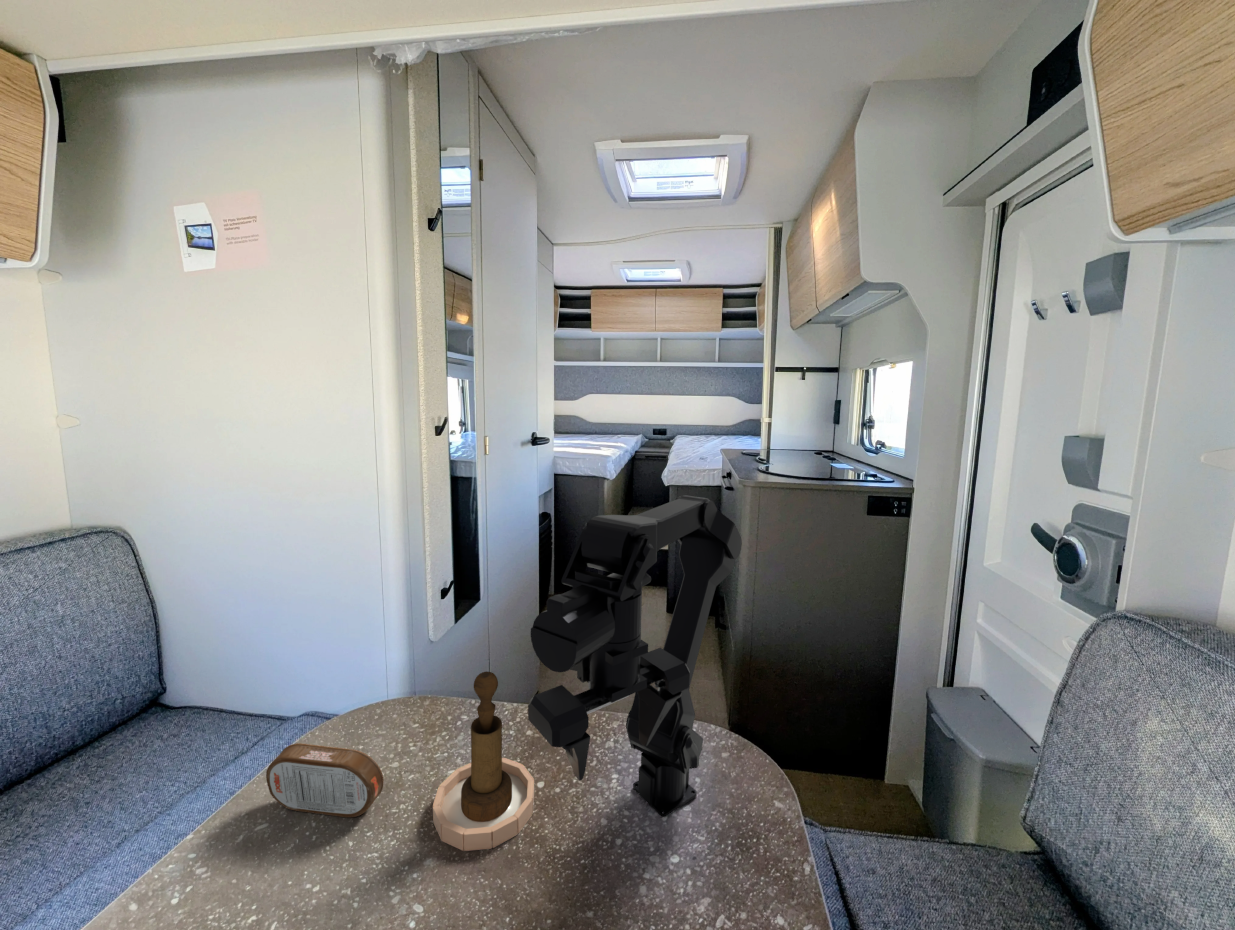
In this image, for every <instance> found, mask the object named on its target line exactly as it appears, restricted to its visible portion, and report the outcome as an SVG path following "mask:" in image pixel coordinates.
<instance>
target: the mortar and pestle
mask: <svg viewBox="0 0 1235 930" xmlns="http://www.w3.org/2000/svg"><path fill="white" fill-rule="evenodd" d="M498 687H499V681H498V677H497V675H496V674H495V673H493V672H492V671H483V672H481V673H479V674H478V675H476V677H475V679H474V682H473V690H474V692H475V694H476V695H477V697H478V698H479V701H480V703H479V705H478V706H477V707H476V711H477V716H478V717H476V718H475V719H474V720H473V721H472V722H471V724H470V741H471V742H470V746H471V747H470V752H471V753H470V756H471V757H470V758H471V759H470V760H471V761H470V763H471V776H469V777H468V778H467V779H466V781H465V782H464V784H463V786H462V790H461V809H462V812H463V814H464V815H465V816H466V817H467V818H468V819H470V820H472V821H477V822H486V821H490V820H493V819H495V818H497V817H499V816H500V815H502V814H503V813H504V812H505V811H506V810H507V809H508V807H509V806H510V803H511V800H512V781H511V778H510V776H509V775H508V774H507V773H506V772H505V771H503V770H502V757H503V721H502V719H501V718H500V717H499V716H496V715H495V713H496V704H495V703H494V702H492V700H493V697H494V696H495V694H496V692H497V690H498Z"/></svg>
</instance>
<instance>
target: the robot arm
mask: <svg viewBox="0 0 1235 930" xmlns="http://www.w3.org/2000/svg"><path fill="white" fill-rule="evenodd" d="M676 541H678V543H679V544H680V547H679V550H678V551H679V552H678V558H679V560H680V564H681V568H682V571H683V578H682V582H681V585H680V589H679V593H678V595H677V598H676V603H675V606H674V610H673V613H672V617H671V620H670V622H669V623H670V624H669V628H668V631H667V634H666V637H665V642H664V645H663V648H661V647H658V648H655V649H652V650H650V651H649V643H647V642H646V641H644V640H643V639H641V637H642V608H643V607H642V606H643V605H642V603H643V602H642V601H643V587H645V586H646V585H648V584H650V583H651V581H652V577H651V576H650V575H649V574H648V573H647V571H649V569H650V568H652V567H653V566H654V565H655V564H656V563H657V560H658V558H657V557H658V554H657V553H658V551H660V550H661V549H663V548H665V547H667V546H668V545H670V544H673V543H674V542H676ZM742 545H743V542H742V536H741V534H740V532H739V531H738V528H737V525H736V524H735V522H734V521H732V519H730V518H728V516H726V515H725V514H723V512H721V511H720V510H718V508H717V505H716V504H715V501H713V500H710V499H709V498H708V497H707V498H706V497H699V496H691V495H685V494H683V495H681V496H677V497H676V498H675V499H674V500H672V501H669V502H667V503H664V504H662V505H658V506H656V507H654V508H651V509H648V510H645V511H642V512H641V513H640V512H639V514H634V515H627V514H626V515H625V514H624V515H623V514H607V515H606V514H603V515H595V516H594V517H591V518H590V519H589V520H588V521H587V522H586V523H585V527H583V529H582V531H581V533H580V535H579V537H578V539H577V543H576V544H575V547H574V550H573V551H572V554H571V555H570V558H569V561H568V563H567V566H566V567H565V570H564V573H563V575H562V577H561V580H560V581H561V584H563V585H566V586H569V587H572V588H571V589H570V590H568V591H566V592H564V593H561V594H555V595H553V596H551V597H548V598H547V600H546V610H544V611H542V612H540V613H539V614H538V615H537V616H536V618H535V619H534V621H533V625H532V627H531V628H530V640H531V644H532V648H533V651H534V653H535V655H536V657H537V658H538V660H539V662H541V663H542V665H544V667H546V668H547V669H549V670H550V671H552V672H556V673H564V672H568V671H572V672H573V671H574V672H576V677H577V678H576V679H578V680H579V681H580V682H581V683H582V684H583V683H585V682H586V683H588V689H587V690H585V691H583V692H580V693H578V694H575V695H574V694H572V692H570V691H569V690H568V689H567V688H566V687H565V686H564V685H563V684H560V685H557V686H555V687H552V688H549V689H548V690H545V691H541V692H539V693H537V694H534V695H533V696H532V697H531V698H530V699H529V702H528V704H527V713H528V715H527V717H528V718H527V720H528V721H529V722H530V723H531V724H532V726H533V727H534V728H535V729H536V730H537V731H538V732H539V734H540V735H541V736H542V737H543V738H544V739H545V740H546V742H547V743H548V744H549V745H550V746H551V747H552V748H553V747H554V748H561V749H564V751H565V753H566V756H567V759H568V761H569V764H570V766H571V769H572V772H573V775H574V776H575V778H576V779H577V780H578V781H580V782H581V781H582V780H584V777H585V773H586V768H587V761H588V756H589V755H588V754H589V749H590V748H589V747H590V742H591V735H590V734H589V733H588V732H587V730H588V729H589V725H590V724H589V722H590V721H589V719H590V717H589V714H591V713H594V712H596V711H599V710H600V709H604V708H606V707H608V706H610V705H612V704H614V703H616V702H619V701H622V700H623V699H626V698H628V697H630V696H631V695H633V694H634V697H633V701H632V706H631V707H630V711H629V712H628V715H627V717H626V721H625V727H626V728H625V729H626V733H627V737H628V741H629V744H630V748H631V749H633V750H637V751H639V752H641V754H640V765H639V767H638V780H637V781H635V782H634V783H632V788H633V790H634V791H635V792H636V793H637V794H638V795H639V796H640V797H641V798H642V800H644V802H646V803H647V805H648V806H650V808H652V809H653V810H654V811H655V812H656V813H657V814H658V815H659V816H660V817H661V818H666V817H667V816H668V815H670V814H672V813H673V812H676V810H678V809H679V808H681V807H682V806H684V805H686V804H687V803H689V802H690V801H692V800H693V799H695V798H697V794H698V792H697V790H696V789H695V788H694V787H693V786H691V785H690V784H689V782H690V770H692V769H697V768H698V767H699V766H700V756H701V754H702V751H703V743H704V738H703V737H702V736H701V735H700V734H698V732H696V731H695V730H694V729H693V727H694V722H695V718H696V712H695V711H696V710H695V707H694V705H693V699H692V696H691V692H690V687H691V683H692V679H693V676H694V673H695V668H696V664H697V660H698V657H699V652H700V649H701V645H702V641H703V637H704V634H705V630H706V627H707V621H708V618H709V615H710V611H711V607H712V603H713V600H714V596H715V591H716V589H717V587H718V585H719V584H721V583H722V582H723V581H724V580H725V579H726V578H727V577H728V576H729V575H730V574H731V573H732V571H733V569H734V566H735V562H736V560H738V558H739V557H740V555H741V552H742ZM587 567H588V568H594V569H597V570H600V571H602V572H603V571H605V572H608V573H610V574H608V575H605V574H600V573H596V572H594V571H590V570H586V568H587Z"/></svg>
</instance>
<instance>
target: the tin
mask: <svg viewBox="0 0 1235 930" xmlns="http://www.w3.org/2000/svg"><path fill="white" fill-rule="evenodd" d="M265 775H266V777H265V779H266V783H267V787H268V791H269V793H270V796H272V798H273V799H274V800H275V801H276V802H277V803H278V804H280V805H281V806H283V807H284V808H286V809H288V810H292V811H296V812H303V813H309V814H310V813H311V814H317V815H324V816H325V815H326V816H333V817H341V818H354V817H355V818H356V817H359V816H362V815H363V814H365V813H366V812H367V811H368V810H369V809H370V808H371V806H372V805H373V804H374V802H375V800H376V799H378V797H379V796H380V795H381V793H382V792H383V789H384V784H385V782H384V780H385V779H384V774H383V772H382V769H381V767H380V766H379V764H378V763H377V761H376V760H375V759H374V758H372V757H371V756H370V755H368V754H367V753H365V752H363V751H360V750H359V749H358V750H357V749H354V748H353V749H352V748H346V747H345V748H343V747H338V746H337V747H335V746H328V745H318V744H310V743H303V742H302V743H301V742H298V743H292V744H289V745H288V746H286V747H284V748H283V749H282V751H280V753H279V754H278V756H276V757H275V759H273V760H272V762H271V763H270V764H269V765H268V767H267V769H266V774H265Z"/></svg>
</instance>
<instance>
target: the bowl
mask: <svg viewBox="0 0 1235 930" xmlns="http://www.w3.org/2000/svg"><path fill="white" fill-rule="evenodd" d="M502 770H503V771H505V772H506V773H507V774H508V775H509V776H510V778H511V781H512V800H511V803H510V806H509V807H508V809H507V810H506V811H505V812H504V813H503V814H502V815H500V816H499V817H497V818H495V819H493V820H490V821H486V822H477V821H472V820H470V819H468V818H467V817H466V816H465V815H464V814H463V812H462V809H461V790H462V786H463V784H464V782H465V781H466V779H467V778H468V777H469V776H471V762H469V763H467V764H465V765H463V766H460V767H457V768H456V769H455V770H454V771H452V773H450V774H449V776H448V777H446V778H445V779H444V780H443V781H442V782H441V783H440V785H438V788H437V791H436V794H435V797H434V800H433V804H432V819H433V820H432V823H433V825H434V828H435V829H436V832H437V834H438V836H439V839H440V841H441V842H442V843H445V844H448V845H449V846H450V847H451V846H452V847H454V848H456V849H459V850H460V851H462V852H463V851H464V852H468V851H478V850H479V851H481V850H490V849H491V850H492V848H493V849H494V848H496V847H498V846H499V845H502V844H503V843H505V842H506V841H509V840H510V839H512V838H514V837H515V836H517V835H519V834H520V833H521V831H522V829H523V828H524V827H525V826H526V824H527V823H528V821H529V820H530V819H531V818H532V816H533V815H534V814H533V813H534V806H535V802H534V801H535V778H534V777H533V776H532V774H531V773H530V771H528V769H527V768H526V766H525V765H524V764H523V763H520V762H517V761H516V760H512V759H509V758H506V757H503V756H502Z"/></svg>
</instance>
